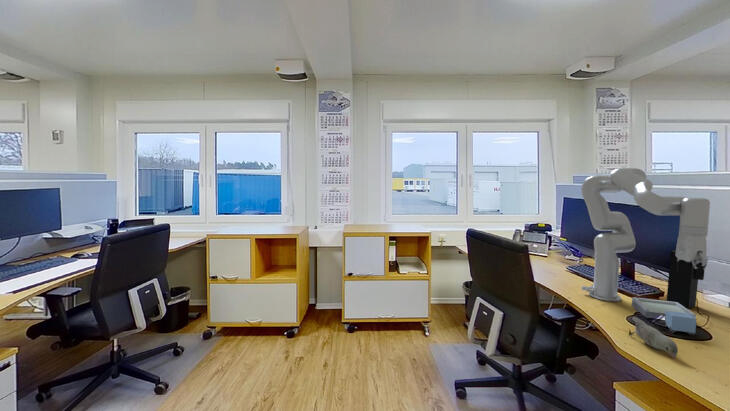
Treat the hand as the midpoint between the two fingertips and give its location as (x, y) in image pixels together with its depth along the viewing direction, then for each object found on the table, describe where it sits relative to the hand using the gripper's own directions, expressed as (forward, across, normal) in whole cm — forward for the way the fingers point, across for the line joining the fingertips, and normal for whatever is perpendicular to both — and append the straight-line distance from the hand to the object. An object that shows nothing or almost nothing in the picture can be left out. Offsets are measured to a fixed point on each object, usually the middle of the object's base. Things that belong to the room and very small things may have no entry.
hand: (689, 275), depth 124 cm
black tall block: (+21, -32, +13) cm, 41 cm away
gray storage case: (+21, +2, -3) cm, 22 cm away
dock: (+21, -15, -1) cm, 26 cm away
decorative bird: (+22, +19, -18) cm, 34 cm away
